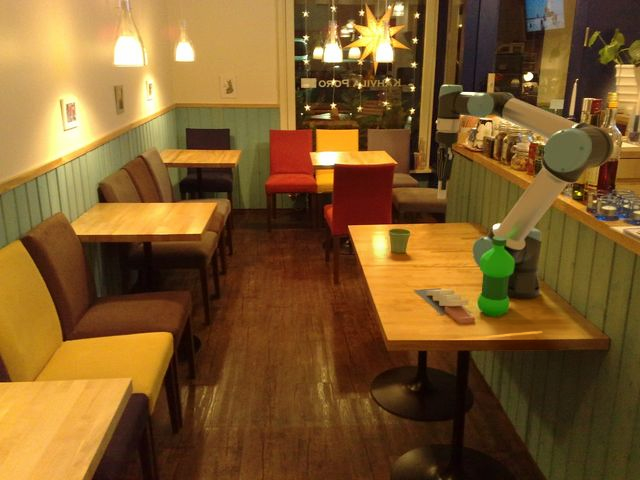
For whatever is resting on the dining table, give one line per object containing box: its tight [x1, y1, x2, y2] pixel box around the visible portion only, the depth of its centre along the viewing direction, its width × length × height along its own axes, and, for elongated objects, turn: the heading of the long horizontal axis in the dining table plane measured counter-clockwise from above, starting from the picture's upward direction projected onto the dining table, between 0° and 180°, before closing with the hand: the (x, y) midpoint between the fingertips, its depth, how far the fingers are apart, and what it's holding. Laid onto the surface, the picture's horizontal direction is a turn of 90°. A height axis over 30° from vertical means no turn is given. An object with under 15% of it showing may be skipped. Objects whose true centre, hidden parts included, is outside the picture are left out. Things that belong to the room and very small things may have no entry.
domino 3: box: [439, 299, 470, 306], centre depth 190 cm, size 2×5×10 cm
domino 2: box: [433, 294, 462, 301], centre depth 194 cm, size 2×5×10 cm
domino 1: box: [426, 289, 455, 296], centre depth 199 cm, size 2×5×10 cm
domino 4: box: [444, 305, 476, 324], centre depth 186 cm, size 2×5×10 cm
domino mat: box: [413, 287, 472, 316], centre depth 198 cm, size 22×10×1 cm, turn 15°
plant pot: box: [387, 228, 412, 254], centre depth 251 cm, size 9×9×9 cm
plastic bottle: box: [477, 236, 515, 317], centre depth 186 cm, size 10×10×25 cm
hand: (441, 198), depth 215 cm, fingers closed
